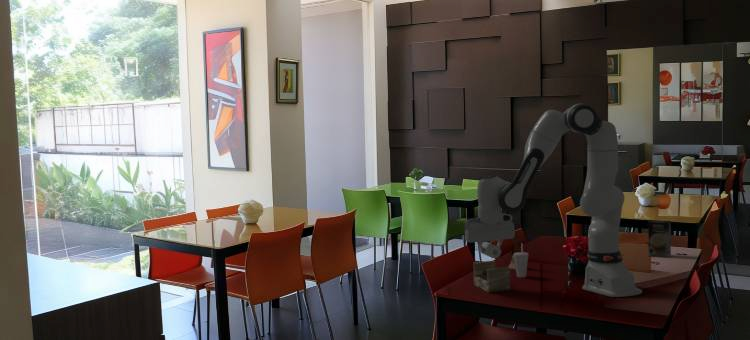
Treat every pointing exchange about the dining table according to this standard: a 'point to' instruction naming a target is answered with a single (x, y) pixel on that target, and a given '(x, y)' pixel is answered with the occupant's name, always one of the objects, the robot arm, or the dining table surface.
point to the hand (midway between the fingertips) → (490, 251)
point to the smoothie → (521, 262)
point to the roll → (491, 250)
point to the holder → (491, 276)
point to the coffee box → (659, 238)
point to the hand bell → (516, 243)
